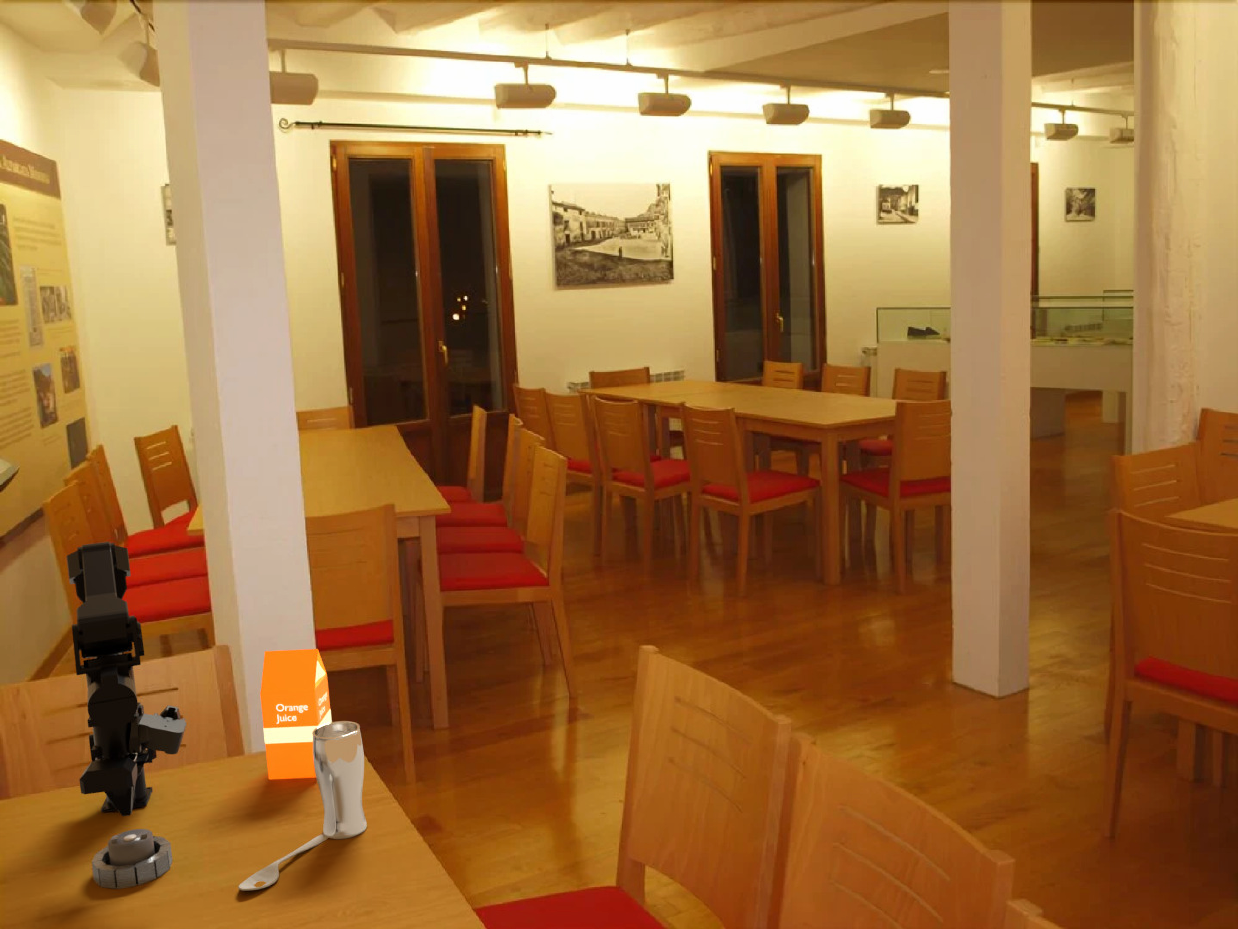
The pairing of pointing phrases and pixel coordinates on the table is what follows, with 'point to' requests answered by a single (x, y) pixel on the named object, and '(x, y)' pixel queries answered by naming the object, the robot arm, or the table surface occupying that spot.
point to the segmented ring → (132, 867)
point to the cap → (131, 847)
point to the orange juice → (293, 710)
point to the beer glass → (340, 777)
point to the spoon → (276, 867)
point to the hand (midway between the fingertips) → (127, 815)
